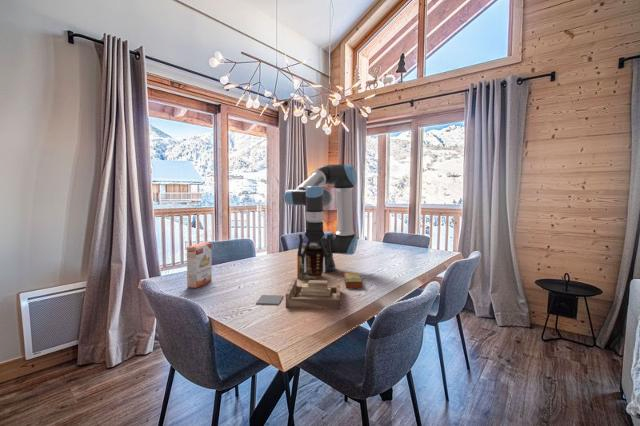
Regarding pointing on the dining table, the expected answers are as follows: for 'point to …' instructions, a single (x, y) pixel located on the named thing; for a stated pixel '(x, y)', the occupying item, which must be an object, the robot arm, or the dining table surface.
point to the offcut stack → (316, 288)
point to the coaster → (270, 299)
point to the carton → (352, 280)
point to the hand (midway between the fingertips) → (314, 271)
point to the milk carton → (300, 266)
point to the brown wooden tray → (311, 302)
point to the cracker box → (199, 265)
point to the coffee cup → (314, 261)
